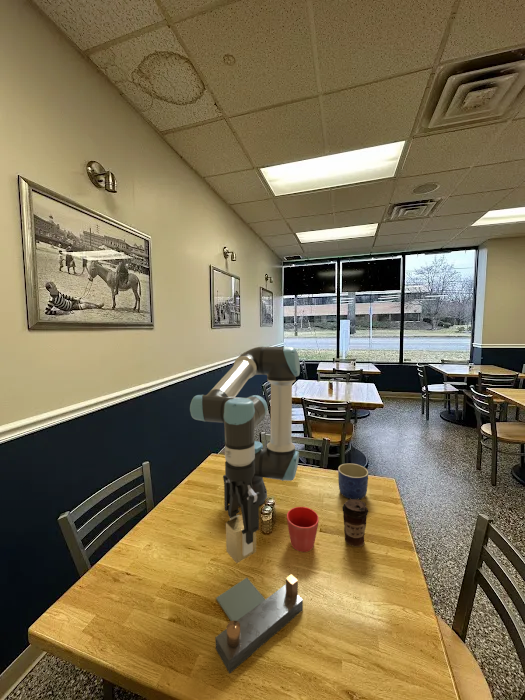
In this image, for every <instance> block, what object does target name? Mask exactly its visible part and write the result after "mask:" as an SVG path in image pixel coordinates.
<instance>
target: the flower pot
mask: <svg viewBox="0 0 525 700" xmlns="http://www.w3.org/2000/svg"><path fill="white" fill-rule="evenodd" d="M319 519H320V518H319V515H318V513H317V512H316V511H315V510H313V509H312V508H309V507H306V506H296V507H292V508H291V509H289V510H288V512H287V513H286V521H287V528H288V535H289V540H290V545H291V547H292V548H293V549H294V550H295V551H298V552H300V553H307V552H310V551H311V550H313V549H314V546H315V543H316V542H315V541H316V537H317V533H318V526H319V523H320V522H319V521H320V520H319Z"/></svg>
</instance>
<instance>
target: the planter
mask: <svg viewBox="0 0 525 700" xmlns="http://www.w3.org/2000/svg"><path fill="white" fill-rule="evenodd" d="M337 469H338V470H337V472H338V473H337V475H338V476H337V477H338V479H337V480H338V488H339V489H338V490H339V492H340V494H341V495H342V496H343V497H345V498H346V499H348V500H351V499H356V500H362V499H365V497H366V495H367V492H368V484H369V483H368V481H369V471H368V469H367V468H366V467H365V466H363V465H360V464H357V463H343V464H340V465H339V466H338V468H337Z"/></svg>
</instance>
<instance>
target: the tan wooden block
mask: <svg viewBox="0 0 525 700" xmlns="http://www.w3.org/2000/svg"><path fill="white" fill-rule="evenodd" d="M239 515H240V516H238V517H236V518H234V519H232V520H230V519H229V520H228V521H226V522H225V546H226V547H225V549H226V553H227V554H228V555H229V556H230V557H231V559H232V560H233V561H234V562H235V563H236V564H238V563H240V562H241V561H244V560H245V559H247V558H248V557H250V556H252V555H253V554H255V553H257V531H256V532H254V533H253V551H252V552H251V553H249V554H247V555H245V556H243V555H242V530H243V529H244V526H243V519H242V514H239Z"/></svg>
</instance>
